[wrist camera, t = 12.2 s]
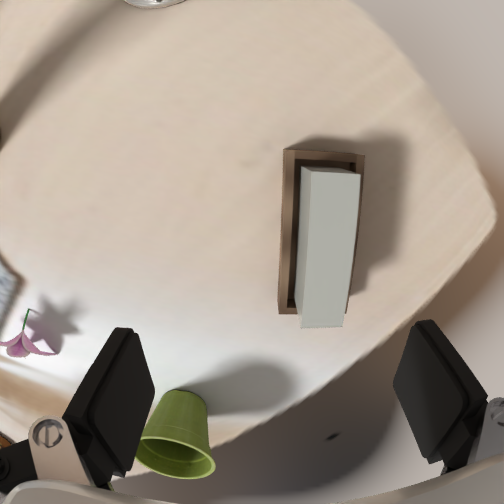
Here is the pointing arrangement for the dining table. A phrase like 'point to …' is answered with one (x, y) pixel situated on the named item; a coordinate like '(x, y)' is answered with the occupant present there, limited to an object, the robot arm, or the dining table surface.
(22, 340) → the lily
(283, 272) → the brown open box
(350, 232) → the pale grey block
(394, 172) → the dining table surface
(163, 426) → the plant pot
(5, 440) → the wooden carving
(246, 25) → the dining table surface
